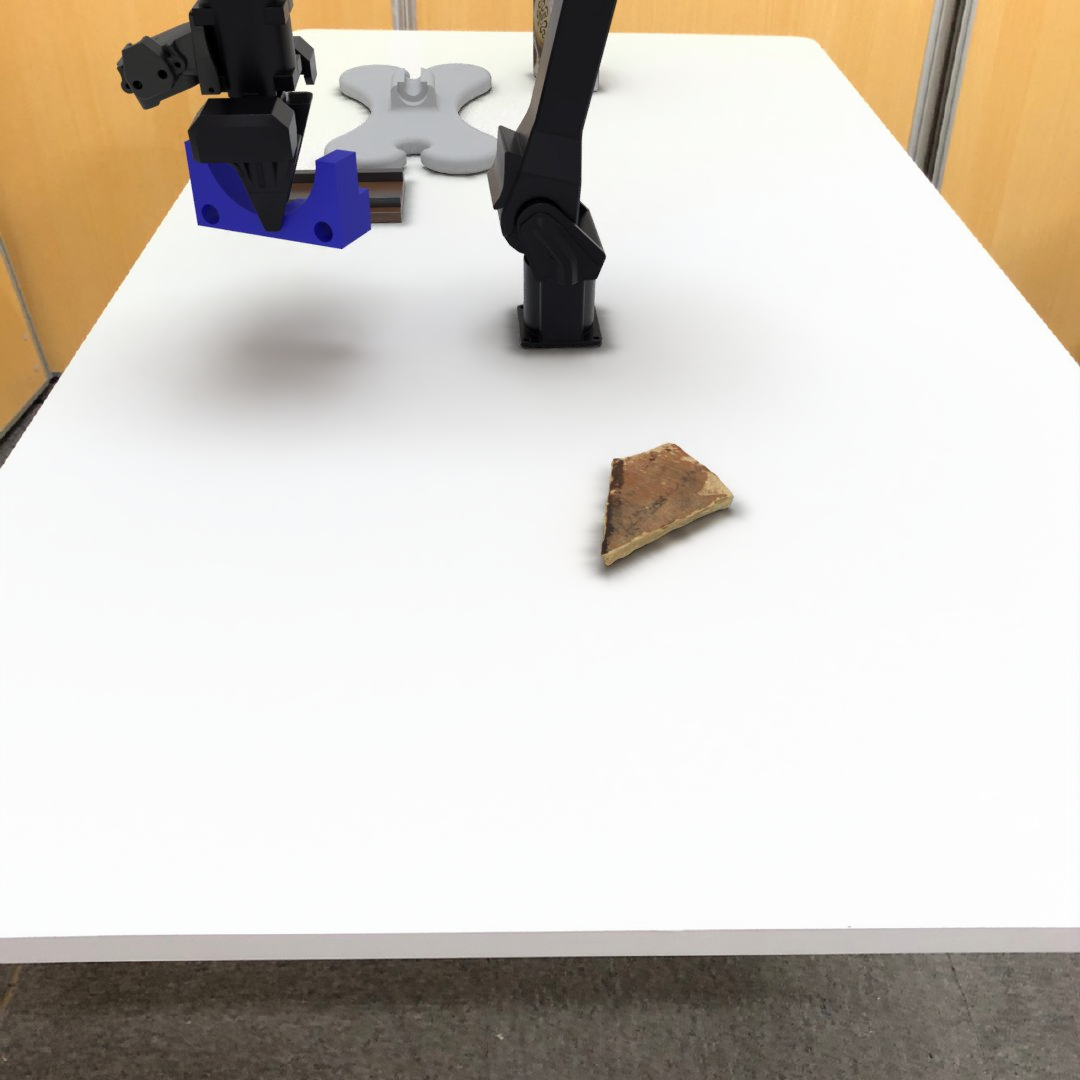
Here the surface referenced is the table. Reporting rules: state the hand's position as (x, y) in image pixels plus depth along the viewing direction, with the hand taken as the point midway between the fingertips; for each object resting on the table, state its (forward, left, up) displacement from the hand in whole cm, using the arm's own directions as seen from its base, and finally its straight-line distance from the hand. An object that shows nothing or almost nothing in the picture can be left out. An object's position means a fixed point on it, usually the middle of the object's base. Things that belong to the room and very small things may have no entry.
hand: (277, 215), depth 78 cm
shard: (-24, -26, -11) cm, 37 cm away
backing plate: (+28, 0, -10) cm, 30 cm away
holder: (+51, -8, -11) cm, 53 cm away
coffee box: (+66, -27, -11) cm, 72 cm away
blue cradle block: (0, 0, -1) cm, 1 cm away
